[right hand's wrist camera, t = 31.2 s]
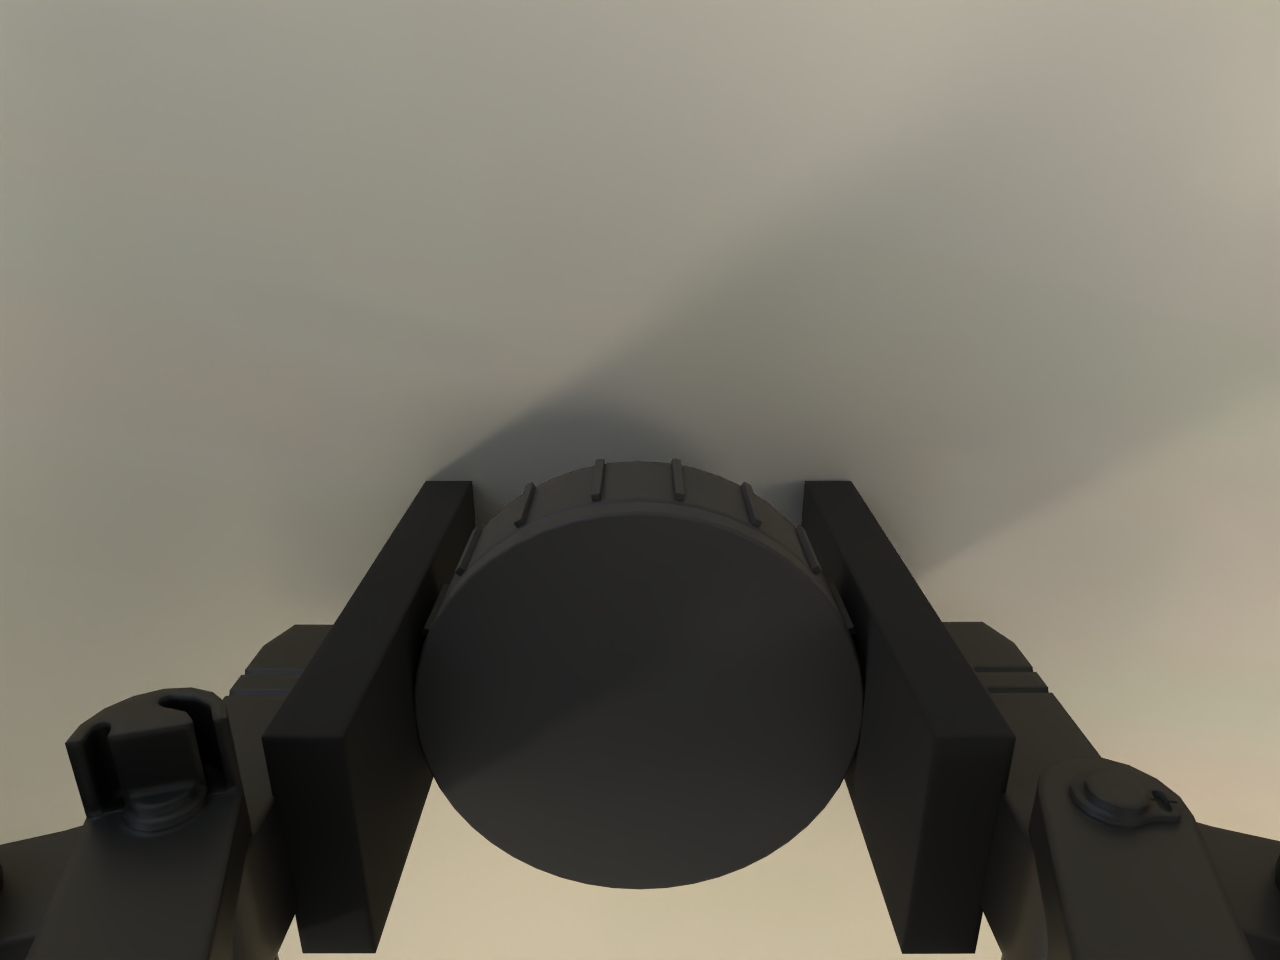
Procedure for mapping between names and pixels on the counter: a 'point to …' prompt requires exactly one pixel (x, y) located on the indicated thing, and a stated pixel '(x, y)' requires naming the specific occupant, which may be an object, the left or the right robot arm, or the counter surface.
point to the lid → (639, 678)
